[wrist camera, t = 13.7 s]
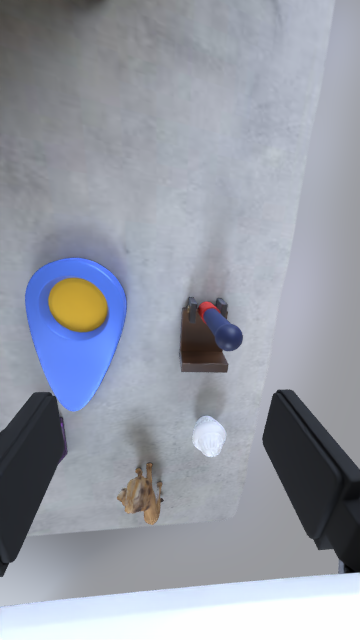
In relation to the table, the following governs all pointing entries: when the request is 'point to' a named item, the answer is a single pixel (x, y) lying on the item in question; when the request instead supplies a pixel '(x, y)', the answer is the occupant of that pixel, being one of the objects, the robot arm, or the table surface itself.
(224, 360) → the brown lever base
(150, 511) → the lion figurine
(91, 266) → the location marker
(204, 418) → the muffin
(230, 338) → the blue lever handle
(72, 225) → the table surface
